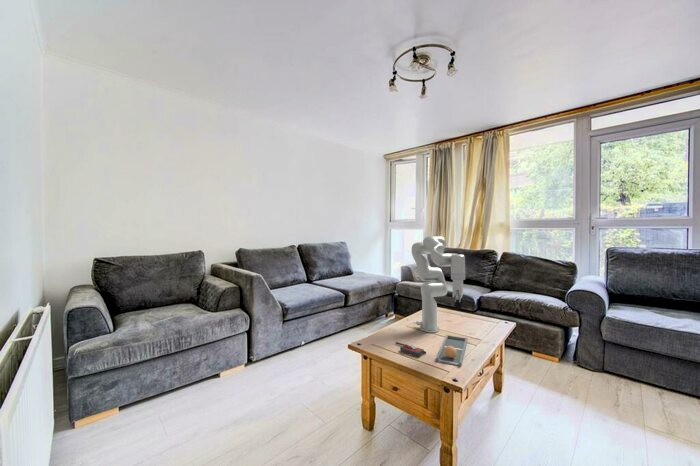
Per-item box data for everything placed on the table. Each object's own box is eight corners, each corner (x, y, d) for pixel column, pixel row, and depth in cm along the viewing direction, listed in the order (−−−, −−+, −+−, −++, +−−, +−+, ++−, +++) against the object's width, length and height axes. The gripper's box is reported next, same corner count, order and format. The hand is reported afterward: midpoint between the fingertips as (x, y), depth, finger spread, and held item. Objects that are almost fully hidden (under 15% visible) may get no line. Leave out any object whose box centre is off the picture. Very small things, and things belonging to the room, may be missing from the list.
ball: (443, 358, 149) (443, 347, 149) (445, 354, 155) (445, 343, 155) (455, 361, 147) (455, 349, 146) (457, 356, 152) (457, 345, 152)
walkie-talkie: (428, 353, 157) (396, 344, 170) (428, 345, 157) (396, 336, 170) (420, 359, 151) (388, 349, 163) (420, 351, 150) (388, 341, 163)
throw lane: (436, 361, 147) (436, 357, 147) (446, 337, 178) (446, 334, 178) (461, 366, 142) (461, 362, 142) (467, 341, 173) (467, 338, 173)
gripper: (452, 274, 170) (452, 303, 170) (449, 278, 154) (449, 310, 154) (466, 275, 167) (466, 304, 166) (464, 279, 151) (464, 311, 151)
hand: (458, 307), depth 160 cm, fingers open, 9 cm apart
